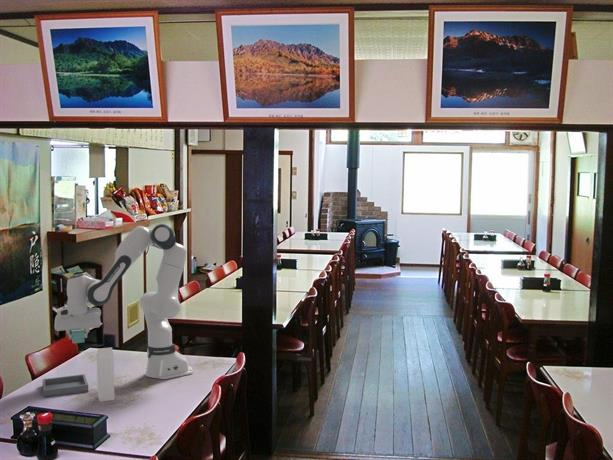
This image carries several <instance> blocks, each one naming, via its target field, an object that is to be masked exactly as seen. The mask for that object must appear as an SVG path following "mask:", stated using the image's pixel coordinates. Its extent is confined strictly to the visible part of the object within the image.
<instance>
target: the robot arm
mask: <svg viewBox="0 0 613 460" xmlns="http://www.w3.org/2000/svg"><path fill="white" fill-rule="evenodd" d="M150 246H152V247H155V248H157V249H161V250H162V251H163V255H162V258H161V262H160V265H159V267H158V271H157V274H156V277H155V280H156V283H157V291H148V292H144V293H143V294H142V296H141V297H140V299H139V306H140V308H141V311H142V313H143V315H144V319H145V321H146V326H147V327H146V328H147V342H148V343H147V348H146V353H147V355H146V356H147V364H146V370H145V373H144V375H145V376H146V377H148V378H153V379H160V380H168V379H173V378H174V379H175V378H177V377H178V378H179V377H183V376H189V375H192V374H193V373H194V370H193V369H194V368H193V367H192V366H190V365H189V363H188V359H187V357H185V356H184V354H182V353H180V352H178V351H179V349H180V347H179V346H178V345H176V343H175V344H174V343H173V333H172V332H173V328H172V326H171V325H170V323H169V320H168V319H174V318H176V317H178V315H179V314H180V312H181V302H180V301H179V287H180V282H181V278H182V275H183V271H184V267H185V264H186V259H187V254H188V252H187V249H186V247H185V246H184V245H182V244H180V243H178V242H177V241H176V234H175V231H174V229H173V228H172V226H170V225H168V224H165V223H160V224H156V225H155V226H154V227H153V229H149V228H148V227H145V226H143V225H138V226H136V227H135V228H133V229H132V230H131V231H130V232H129V233H128V234H127V235H126V236H125V237H124V238H123V240H122V241H121V242H120V243H119V245H118V246H117V248H116V250H115V254H114V262H113V264H112V266H111V267H110V269H109V270H108V272H107V273H106V274H105V275H104V277H103V278H102V279H97V278H92V277H90V276H87V275H86V274H84V273H77V274H73V275H70V276H69V278H68V279H67V283H66V296H67V301H66V305H64V306H62V307H59V308H57V309H56V315H55V318H54V331H56V332H61V331H66V334H67V335H68V339H69V340H72V339H73V335H72V334H71V333H70V332H71V331H72V330H82V329H83V330H85V332H84V339H87V338H88V334H89V332H90V329H95V328H100V327H101V326H102V325H101V323H102V321H101V315H102V310H101V309H100V308H98V307H88V301H89V303H90V304H91V305H94V306H103V305H107V303H109V301H110V300H111V297H112V293H113V290H114V288H115V287H116V285H117V284H118V283H119V281H120V280H121V279H122V278H123V276H124V274H125V273H126V272H127V271H128V270H129V269H130V268H131V267H132V266H133V265H134V263H135V262H136V261H137V260H138V259H139V258H140V257H141V256H142V254H143V253H144V252H145V251H146V250H147V248H149V247H150Z"/></svg>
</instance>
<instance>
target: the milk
mask: <svg viewBox="0 0 613 460" xmlns="http://www.w3.org/2000/svg"><path fill="white" fill-rule="evenodd" d="M114 363H115V358H114V352H113V347H102V348H97V353H96V365H97V366H96V367H97V369H96V370H97V374H96V376H97V377H96V378H97V398H98V401H99V402H100V403H101V402H108V401H115V368H114V367H115V366H114V365H115V364H114Z"/></svg>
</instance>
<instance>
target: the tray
mask: <svg viewBox="0 0 613 460" xmlns="http://www.w3.org/2000/svg"><path fill="white" fill-rule="evenodd" d="M42 391H43V398H48V397H49V398H50V397H58V396H63V395H64V396H65V395H72V394H79V393H87V392H89V383H88V380H87V377H86V374H85V373H83V374H75V375H74V374H73V375H66V376H65V375H64V376H60V377H59V376H58V377H51V378H50V377H49V378H42Z"/></svg>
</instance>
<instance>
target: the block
mask: <svg viewBox="0 0 613 460" xmlns="http://www.w3.org/2000/svg"><path fill="white" fill-rule="evenodd" d="M84 330H85V329H74V330H71V335H73V339H71V341H72V344H80V343H81V344H82V343H86V342H85V338H84V333H85V331H84Z"/></svg>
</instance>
